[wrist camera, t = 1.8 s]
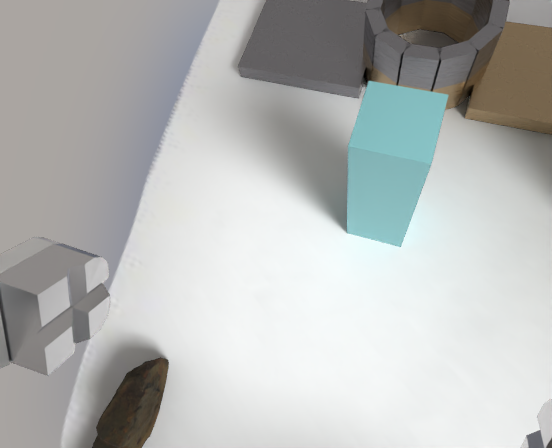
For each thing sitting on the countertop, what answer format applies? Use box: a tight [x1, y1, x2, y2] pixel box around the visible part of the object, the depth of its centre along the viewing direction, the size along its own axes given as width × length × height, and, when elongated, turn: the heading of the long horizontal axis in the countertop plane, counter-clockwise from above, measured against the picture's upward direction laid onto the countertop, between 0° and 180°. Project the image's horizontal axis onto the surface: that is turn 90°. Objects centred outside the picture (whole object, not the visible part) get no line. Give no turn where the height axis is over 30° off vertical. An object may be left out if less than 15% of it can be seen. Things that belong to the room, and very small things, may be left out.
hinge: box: [238, 0, 552, 134], centre depth 39 cm, size 34×11×7 cm, turn 72°
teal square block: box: [347, 81, 448, 247], centre depth 31 cm, size 4×4×14 cm
